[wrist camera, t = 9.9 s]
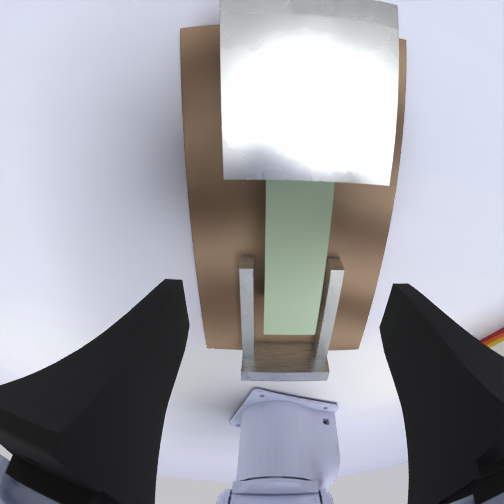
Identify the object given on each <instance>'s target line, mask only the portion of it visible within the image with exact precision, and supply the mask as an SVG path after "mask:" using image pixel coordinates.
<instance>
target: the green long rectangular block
mask: <svg viewBox="0 0 504 504" xmlns="http://www.w3.org/2000/svg"><path fill="white" fill-rule="evenodd" d="M334 185H335V182H324V181H299V180H266V226H265V293H264V334H267V335H315V332H316V326H317V320H318V314H319V308H320V301H321V295H322V288H323V281H324V274H325V267H326V259H327V251H328V243H329V235H330V226H331V216H332V207H333V196H334Z"/></svg>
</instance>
